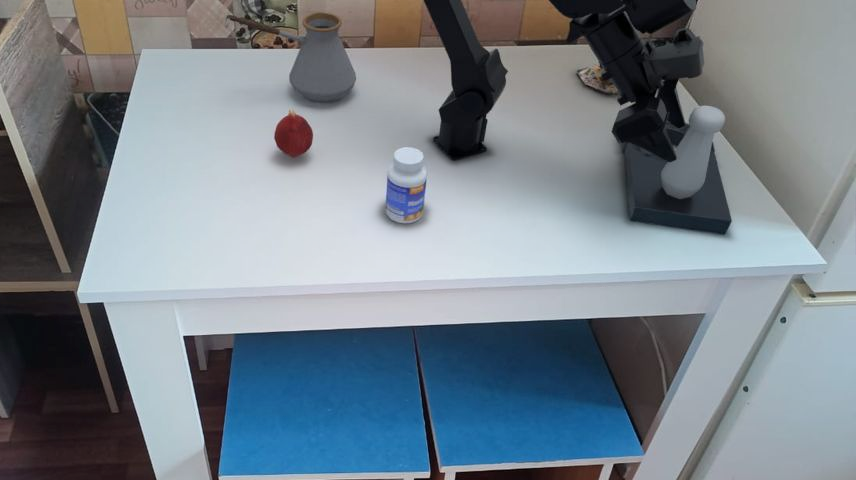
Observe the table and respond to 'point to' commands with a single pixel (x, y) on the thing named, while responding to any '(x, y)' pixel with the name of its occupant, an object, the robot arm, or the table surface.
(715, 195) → the plate
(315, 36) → the coffee pot
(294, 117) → the onion
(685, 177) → the white rounded peg
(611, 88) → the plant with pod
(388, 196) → the pill bottle
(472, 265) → the table surface
